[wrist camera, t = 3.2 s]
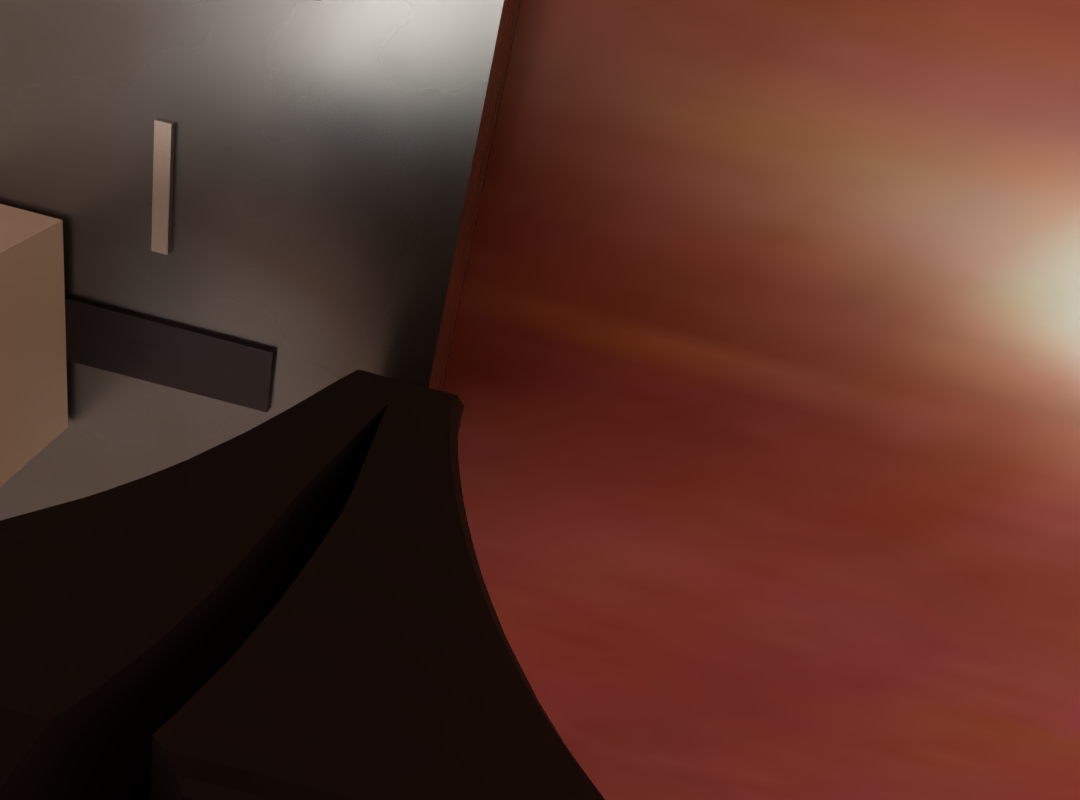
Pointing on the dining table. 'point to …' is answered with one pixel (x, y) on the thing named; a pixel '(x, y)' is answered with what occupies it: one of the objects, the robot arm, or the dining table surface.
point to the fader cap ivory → (31, 337)
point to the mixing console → (242, 206)
